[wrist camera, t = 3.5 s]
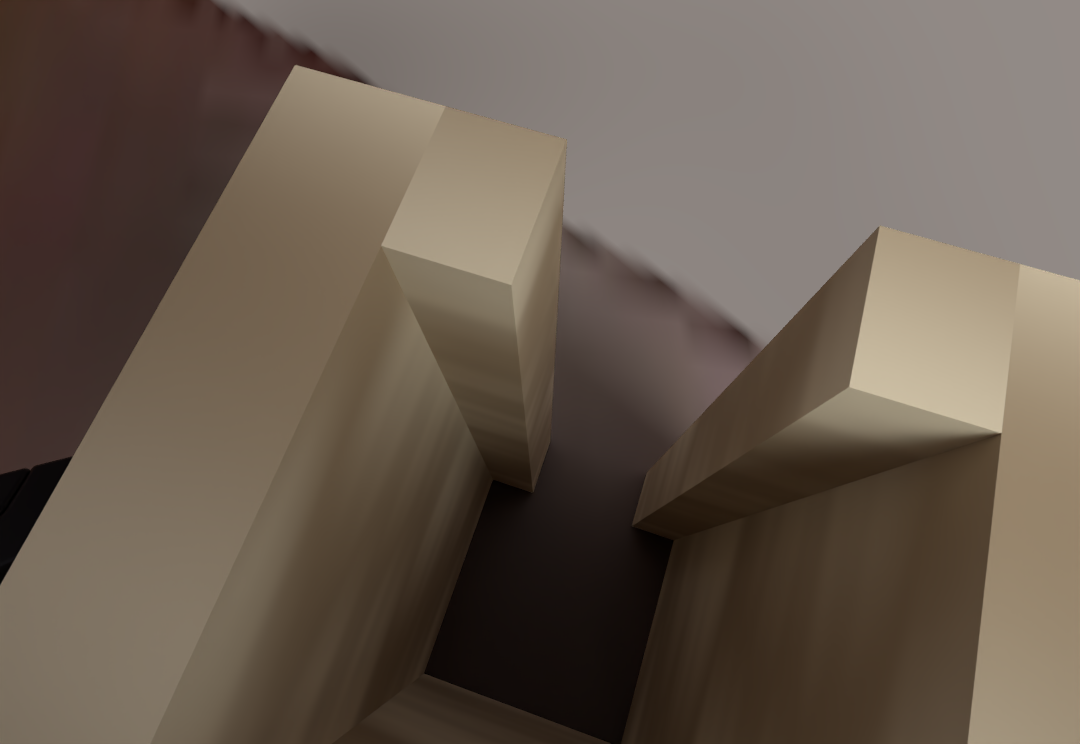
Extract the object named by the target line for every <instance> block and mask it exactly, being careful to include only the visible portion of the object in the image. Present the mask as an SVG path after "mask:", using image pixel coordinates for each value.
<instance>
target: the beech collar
mask: <svg viewBox="0 0 1080 744" xmlns="http://www.w3.org/2000/svg"><path fill="white" fill-rule="evenodd" d="M566 148H567V140H566V139H562V138H559V137H556V136H552V135H548V134H545V133H541V132H537V131H534V130H530V129H526V128H522V127H519V126H515V125H512V124H508V123H505V122H501V121H497V120H494V119H490V118H487V117H483V116H479V115H476V114H472V113H468V112H465V111H461V110H457V109H454V108H450V107H446V106H443V105H439V104H435V103H432V102H428V101H424V100H421V99H417V98H414V97H410V96H406V95H403V94H399V93H396V92H392V91H388V90H385V89H381V88H377V87H374V86H370V85H366V84H363V83H359V82H356V81H352V80H348V79H345V78H341V77H337V76H334V75H330V74H326V73H323V72H319V71H316V70H312V69H308V68H305V67H301V66H297V65H295V66H294V68H293V70H292V71H291V73H290V75H289V77H288V78H287V80H286V82H285V84H284V86H283V87H282V89H281V91H280V93H279V94H278V96H277V98H276V100H275V101H274V103H273V105H272V107H271V108H270V110H269V112H268V114H267V116H266V117H265V119H264V121H263V123H262V124H261V126H260V128H259V130H258V131H257V133H256V135H255V137H254V138H253V140H252V142H251V144H250V146H249V147H248V149H247V151H246V153H245V154H244V156H243V158H242V160H241V161H240V163H239V165H238V167H237V168H236V170H235V172H234V174H233V176H232V177H231V179H230V181H229V183H228V184H227V186H226V188H225V190H224V191H223V193H222V195H221V197H220V198H219V200H218V202H217V204H216V205H215V207H214V209H213V211H212V213H211V214H210V216H209V218H208V220H207V221H206V223H205V225H204V227H203V228H202V230H201V232H200V234H199V235H198V237H197V239H196V241H195V243H194V244H193V246H192V248H191V250H190V251H189V253H188V255H187V257H186V258H185V260H184V262H183V264H182V265H181V267H180V269H179V271H178V273H177V274H176V276H175V278H174V280H173V281H172V283H171V285H170V287H169V288H168V290H167V292H166V294H165V295H164V297H163V299H162V301H161V302H160V304H159V306H158V308H157V310H156V311H155V313H154V315H153V317H152V318H151V320H150V322H149V324H148V325H147V327H146V329H145V331H144V332H143V334H142V336H141V338H140V340H139V341H138V343H137V345H136V347H135V348H134V350H133V352H132V354H131V355H130V357H129V359H128V361H127V362H126V364H125V366H124V368H123V370H122V371H121V373H120V375H119V377H118V378H117V380H116V382H115V384H114V385H113V387H112V389H111V391H110V392H109V394H108V396H107V398H106V400H105V401H104V403H103V405H102V407H101V408H100V410H99V412H98V414H97V415H96V417H95V419H94V421H93V422H92V424H91V426H90V428H89V429H88V431H87V433H86V435H85V437H84V438H83V440H82V442H81V444H80V445H79V447H78V449H77V451H76V452H75V454H74V456H73V458H72V459H71V461H70V463H69V465H68V467H67V468H66V470H65V472H64V474H63V475H62V477H61V479H60V481H59V482H58V484H57V486H56V488H55V489H54V491H53V493H52V495H51V497H50V498H49V500H48V502H47V504H46V505H45V507H44V509H43V511H42V512H41V514H40V516H39V518H38V519H37V521H36V523H35V525H34V527H33V528H32V530H31V532H30V534H29V535H28V537H27V539H26V541H25V542H24V544H23V546H22V548H21V549H20V551H19V553H18V555H17V556H16V558H15V560H14V562H13V564H12V565H11V567H10V569H9V571H8V572H7V574H6V576H5V578H4V579H3V581H2V583H1V585H0V744H611V743H608V742H606V741H603V740H600V739H598V738H595V737H592V736H589V735H587V734H584V733H581V732H579V731H576V730H573V729H571V728H568V727H565V726H563V725H560V724H557V723H555V722H552V721H549V720H547V719H544V718H541V717H539V716H536V715H533V714H531V713H528V712H525V711H523V710H520V709H517V708H515V707H512V706H509V705H507V704H504V703H501V702H499V701H496V700H493V699H491V698H488V697H485V696H483V695H480V694H477V693H475V692H472V691H469V690H466V689H464V688H461V687H458V686H456V685H453V684H450V683H448V682H445V681H442V680H440V679H437V678H434V677H432V676H429V675H426V674H424V672H425V669H426V666H427V663H428V661H429V658H430V655H431V652H432V649H433V647H434V644H435V641H436V638H437V635H438V633H439V630H440V627H441V624H442V621H443V618H444V616H445V613H446V610H447V607H448V604H449V602H450V599H451V596H452V593H453V590H454V588H455V585H456V582H457V579H458V576H459V574H460V571H461V568H462V565H463V562H464V559H465V557H466V554H467V551H468V548H469V545H470V543H471V540H472V537H473V534H474V531H475V529H476V526H477V523H478V520H479V517H480V514H481V512H482V509H483V506H484V503H485V500H486V498H487V495H488V492H489V489H490V486H491V484H492V481H493V480H496V481H499V482H502V483H505V484H508V485H511V486H514V487H517V488H520V489H523V490H526V491H529V492H532V493H533V492H534V489H535V486H536V483H537V480H538V477H539V474H540V471H541V468H542V465H543V462H544V459H545V456H546V453H547V450H548V447H549V444H550V439H551V421H552V402H553V384H554V366H555V348H556V330H557V312H558V293H559V275H560V257H561V239H562V221H563V202H564V183H565V164H566ZM632 526H633V527H636V528H639V529H642V530H645V531H648V532H651V533H654V534H657V535H660V536H662V537H665V538H668V539H671V540H674V542H673V545H672V549H671V553H670V557H669V561H668V565H667V569H666V572H665V576H664V580H663V584H662V588H661V592H660V595H659V599H658V603H657V607H656V611H655V615H654V619H653V622H652V626H651V630H650V634H649V638H648V642H647V646H646V649H645V653H644V657H643V661H642V665H641V669H640V672H639V676H638V680H637V684H636V688H635V692H634V696H633V699H632V703H631V707H630V711H629V715H628V719H627V723H626V726H625V730H624V734H623V738H622V742H621V744H1080V281H1079V280H1076V279H1072V278H1069V277H1065V276H1062V275H1058V274H1054V273H1051V272H1046V271H1043V270H1040V269H1036V268H1032V267H1029V266H1025V265H1021V264H1018V263H1014V262H1010V261H1007V260H1003V259H1000V258H996V257H992V256H989V255H985V254H981V253H977V252H974V251H971V250H967V249H963V248H960V247H956V246H952V245H948V244H945V243H941V242H937V241H934V240H930V239H927V238H923V237H919V236H916V235H912V234H908V233H905V232H901V231H898V230H894V229H890V228H887V227H883V226H879V227H878V228H877V229H876V230H875V231H874V233H872V234H871V235H870V237H869V238H868V239H867V240H866V241H865V242H864V243H863V244H862V245H861V246H860V247H859V248H858V249H857V250H856V251H855V252H854V254H853V255H852V256H851V257H850V258H849V259H848V260H847V261H846V262H845V263H844V264H843V265H842V266H841V267H840V268H839V269H838V270H837V272H836V273H835V274H834V275H833V276H832V277H831V278H830V279H829V280H828V281H827V282H826V283H825V284H824V285H823V286H822V287H821V289H820V290H819V291H818V292H817V293H816V294H815V295H814V296H813V297H812V298H811V299H810V300H809V301H808V302H807V303H806V304H805V305H804V307H803V308H802V309H801V310H800V311H799V312H798V313H797V314H796V315H795V316H794V317H793V318H792V319H791V320H790V321H789V322H788V324H787V325H786V326H785V327H784V328H783V329H782V330H781V331H780V332H779V333H778V334H777V335H776V336H775V337H774V338H773V339H772V340H771V342H770V343H769V344H768V345H767V346H766V347H765V348H764V349H763V350H762V351H761V352H760V353H759V354H758V355H757V356H756V357H755V358H754V360H753V361H752V362H751V363H750V364H749V365H748V366H747V367H746V368H745V369H744V370H743V371H742V372H741V373H740V374H739V375H738V377H737V378H736V379H735V380H734V381H733V382H732V383H731V384H730V385H729V386H728V387H727V388H726V389H725V390H724V391H723V392H722V393H721V395H720V396H719V397H718V398H717V399H716V400H715V401H714V402H713V403H712V404H711V405H710V406H709V407H708V408H707V409H706V410H705V412H704V413H703V414H702V415H701V416H700V417H699V418H698V419H697V420H696V421H695V422H694V423H693V424H692V425H691V426H690V427H689V428H688V430H687V431H686V432H685V433H684V434H683V435H682V436H681V437H680V438H679V439H678V440H677V441H676V442H675V443H674V444H673V445H672V446H671V448H670V449H669V450H668V451H667V452H666V453H665V454H664V455H663V456H662V457H661V458H660V459H659V460H658V461H657V462H656V463H655V465H654V466H653V467H652V468H651V469H650V470H649V471H648V472H647V474H646V477H645V481H644V484H643V488H642V491H641V495H640V499H639V502H638V506H637V509H636V513H635V516H634V520H633V523H632Z"/></svg>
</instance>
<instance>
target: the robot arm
mask: <svg viewBox="0 0 1080 744" xmlns="http://www.w3.org/2000/svg"><path fill="white" fill-rule="evenodd" d="M72 458H73V456H72V457H68V458H64V459H60V460H56V461H52V462H48V463H44V464H40V465H36V466H34V467H33V468H32V469H31V471H30V470H29V469H26V468H24V469H20V470H16V471H12V472H8V473H4V474H0V585H1V583H2V581H3V579H4V578H5V576H6V574H7V572H8V571H9V569H10V567H11V565H12V564H13V562H14V560H15V558H16V556H17V555H18V553H19V551H20V549H21V548H22V546H23V544H24V542H25V541H26V539H27V537H28V535H29V534H30V532H31V530H32V528H33V527H34V525H35V523H36V521H37V519H38V518H39V516H40V514H41V512H42V511H43V509H44V507H45V505H46V504H47V502H48V500H49V498H50V497H51V495H52V493H53V491H54V489H55V488H56V486H57V484H58V482H59V481H60V479H61V477H62V475H63V474H64V472H65V470H66V468H67V467H68V465H69V463H70V461H71V459H72Z"/></svg>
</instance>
